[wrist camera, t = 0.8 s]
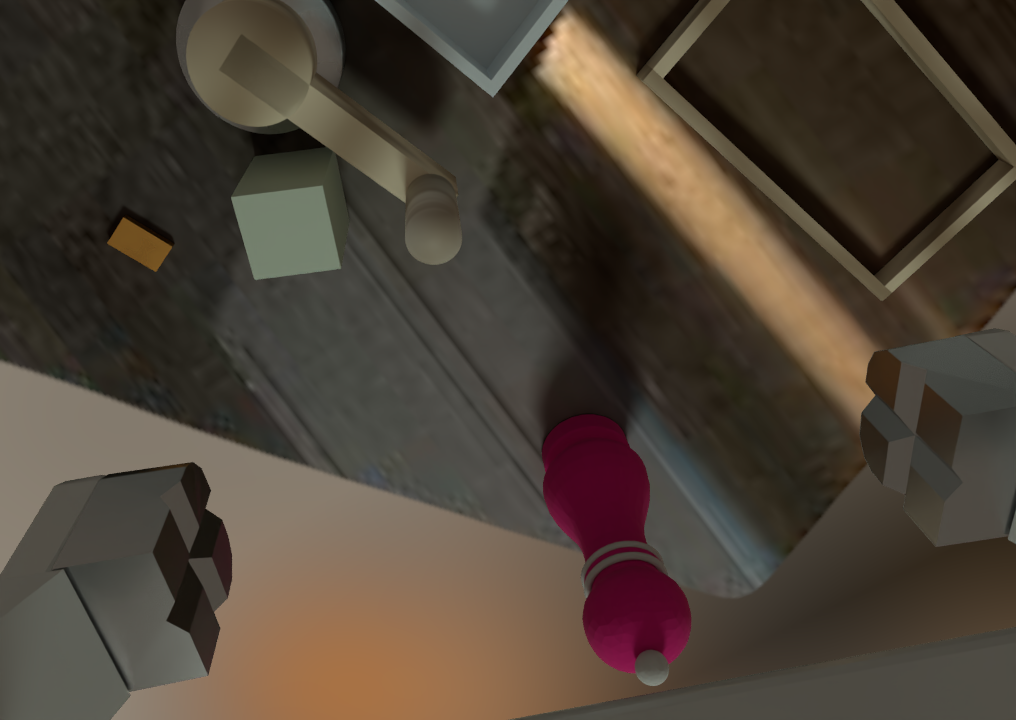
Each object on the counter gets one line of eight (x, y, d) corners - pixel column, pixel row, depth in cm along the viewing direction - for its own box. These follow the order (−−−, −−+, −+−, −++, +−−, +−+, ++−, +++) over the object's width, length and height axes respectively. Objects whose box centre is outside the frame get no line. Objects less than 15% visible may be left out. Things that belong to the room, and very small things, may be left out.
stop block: (254, 156, 45) (230, 197, 39) (333, 146, 45) (322, 185, 39) (274, 230, 47) (254, 279, 41) (349, 220, 48) (341, 268, 42)
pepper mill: (520, 429, 57) (568, 663, 40) (616, 393, 56) (706, 615, 39) (554, 499, 60) (610, 741, 43) (644, 466, 60) (738, 699, 43)
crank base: (240, -77, 39) (229, -75, 37) (375, 31, 42) (373, 40, 40) (68, 215, 46) (48, 233, 43) (196, 290, 49) (185, 311, 46)
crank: (179, 64, 39) (127, 103, 32) (238, -34, 38) (197, -15, 30) (418, 231, 45) (420, 297, 38) (479, 154, 43) (494, 208, 36)
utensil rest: (790, -109, 41) (802, -109, 40) (1016, 157, 50) (1032, 164, 49) (636, 75, 45) (642, 81, 44) (870, 291, 54) (882, 301, 53)
